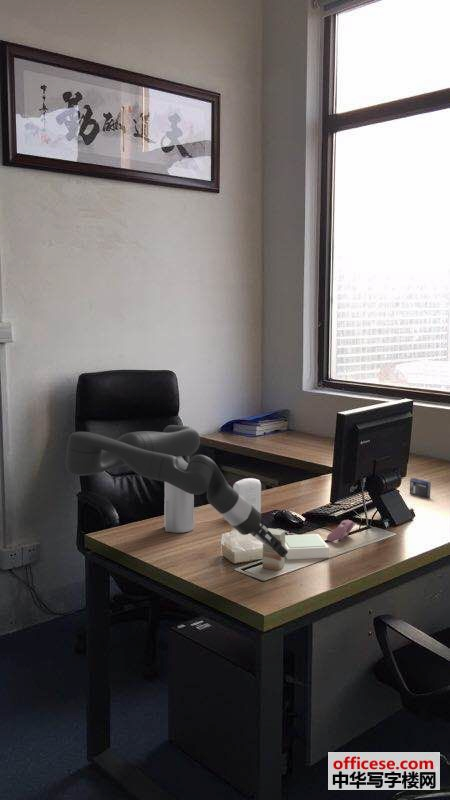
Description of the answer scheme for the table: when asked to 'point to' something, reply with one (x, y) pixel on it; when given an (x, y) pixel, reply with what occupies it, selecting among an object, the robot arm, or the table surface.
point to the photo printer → (250, 491)
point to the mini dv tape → (420, 487)
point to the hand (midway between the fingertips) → (279, 550)
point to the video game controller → (341, 530)
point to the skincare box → (270, 556)
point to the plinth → (306, 546)
